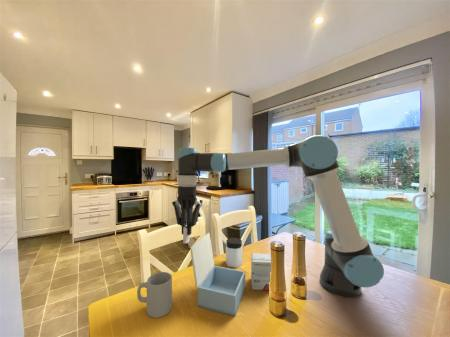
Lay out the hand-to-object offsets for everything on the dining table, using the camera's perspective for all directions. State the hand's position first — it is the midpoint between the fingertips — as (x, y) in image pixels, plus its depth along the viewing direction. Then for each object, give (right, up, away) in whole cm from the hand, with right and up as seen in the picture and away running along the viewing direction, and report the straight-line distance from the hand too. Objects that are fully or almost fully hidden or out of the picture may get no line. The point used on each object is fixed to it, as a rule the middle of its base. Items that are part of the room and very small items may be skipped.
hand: (186, 242), depth 80 cm
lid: (+8, -5, -2) cm, 9 cm away
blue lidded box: (+15, -19, -5) cm, 25 cm away
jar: (+21, -19, +21) cm, 35 cm away
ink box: (+32, -20, +4) cm, 38 cm away
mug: (-9, -20, -11) cm, 24 cm away
